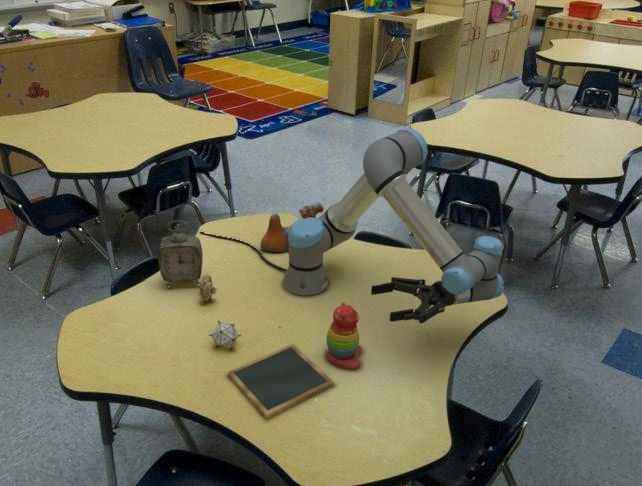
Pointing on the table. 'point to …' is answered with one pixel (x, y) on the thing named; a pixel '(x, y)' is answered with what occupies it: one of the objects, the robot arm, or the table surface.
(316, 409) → the table surface
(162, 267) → the tabletop clock
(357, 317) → the stacking bear
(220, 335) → the game die
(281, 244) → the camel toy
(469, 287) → the robot arm
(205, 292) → the lion figurine
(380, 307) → the table surface
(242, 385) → the chalkboard
